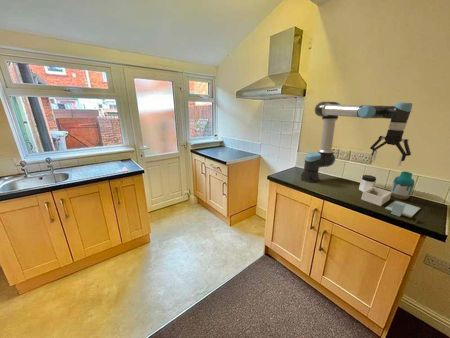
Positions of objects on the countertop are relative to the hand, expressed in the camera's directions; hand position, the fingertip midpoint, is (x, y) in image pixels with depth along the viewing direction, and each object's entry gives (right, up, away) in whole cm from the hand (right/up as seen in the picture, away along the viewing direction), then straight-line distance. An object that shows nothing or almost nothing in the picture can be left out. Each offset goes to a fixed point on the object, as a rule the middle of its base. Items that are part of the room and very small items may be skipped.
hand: (385, 162), depth 122 cm
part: (+1, -23, +11) cm, 26 cm away
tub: (-1, -25, +7) cm, 26 cm away
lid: (+5, -30, -6) cm, 31 cm away
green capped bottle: (+18, -25, +11) cm, 33 cm away
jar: (+3, -21, +21) cm, 30 cm away
